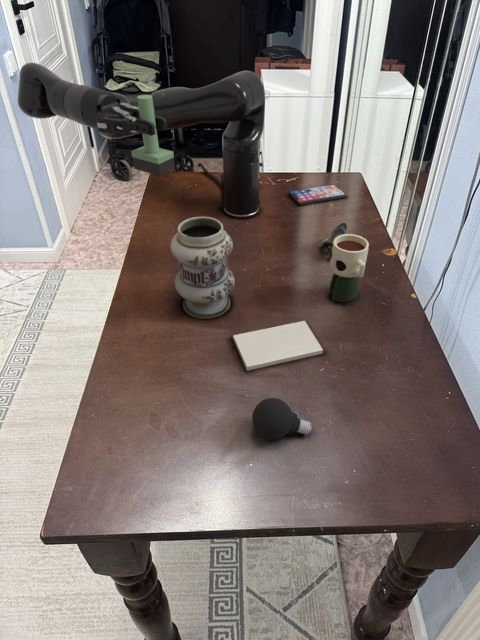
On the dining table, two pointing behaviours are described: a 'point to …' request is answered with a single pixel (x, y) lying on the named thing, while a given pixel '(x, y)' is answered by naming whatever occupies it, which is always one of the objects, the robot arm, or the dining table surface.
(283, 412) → the light bulb
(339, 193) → the smartphone
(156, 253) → the dining table surface
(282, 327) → the white tile
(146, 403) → the dining table surface
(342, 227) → the eagle figurine
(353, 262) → the character mug
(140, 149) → the scrub brush
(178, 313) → the dining table surface
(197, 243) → the apothecary jar
